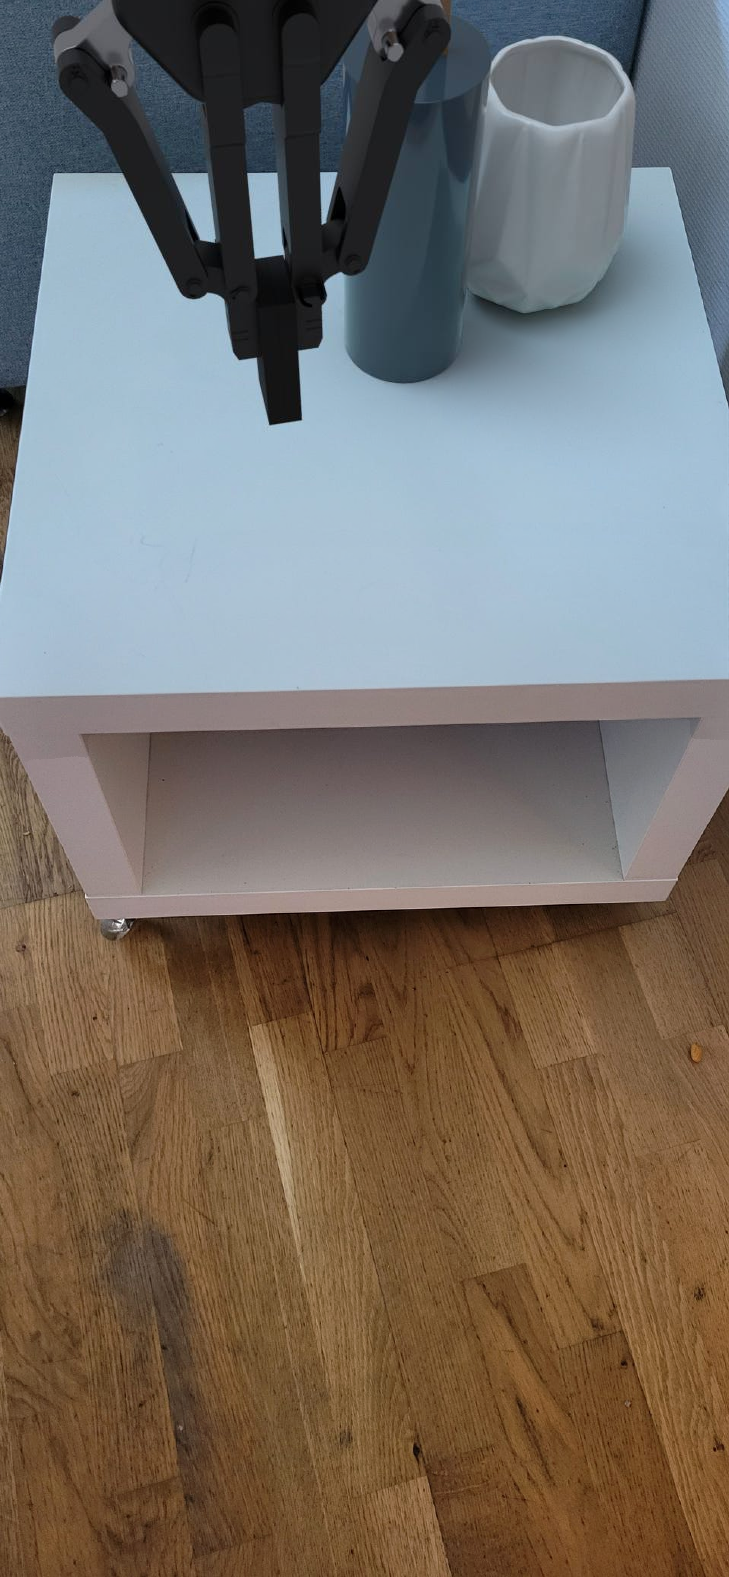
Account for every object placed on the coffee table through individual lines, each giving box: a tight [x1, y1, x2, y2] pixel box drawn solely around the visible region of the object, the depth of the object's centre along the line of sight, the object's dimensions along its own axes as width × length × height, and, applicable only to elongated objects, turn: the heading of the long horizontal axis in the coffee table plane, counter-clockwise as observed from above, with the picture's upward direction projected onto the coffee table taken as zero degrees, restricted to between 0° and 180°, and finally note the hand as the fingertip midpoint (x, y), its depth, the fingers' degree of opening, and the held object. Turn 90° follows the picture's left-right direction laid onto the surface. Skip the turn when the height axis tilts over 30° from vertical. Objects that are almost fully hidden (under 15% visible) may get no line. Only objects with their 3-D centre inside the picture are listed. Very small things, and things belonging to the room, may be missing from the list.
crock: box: [341, 0, 493, 384], centre depth 73 cm, size 9×9×34 cm
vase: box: [467, 35, 637, 314], centre depth 85 cm, size 14×14×15 cm
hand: (280, 400), depth 51 cm, fingers closed
